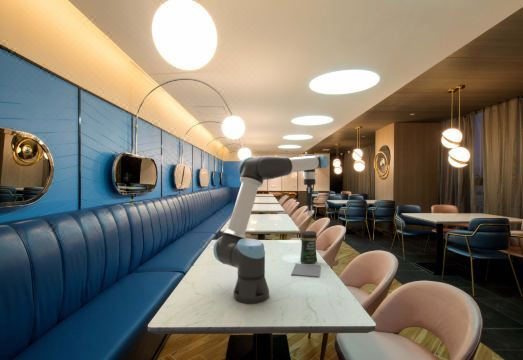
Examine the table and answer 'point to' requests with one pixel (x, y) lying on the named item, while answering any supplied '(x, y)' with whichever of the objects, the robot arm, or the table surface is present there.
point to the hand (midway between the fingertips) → (309, 215)
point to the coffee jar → (308, 247)
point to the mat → (306, 270)
